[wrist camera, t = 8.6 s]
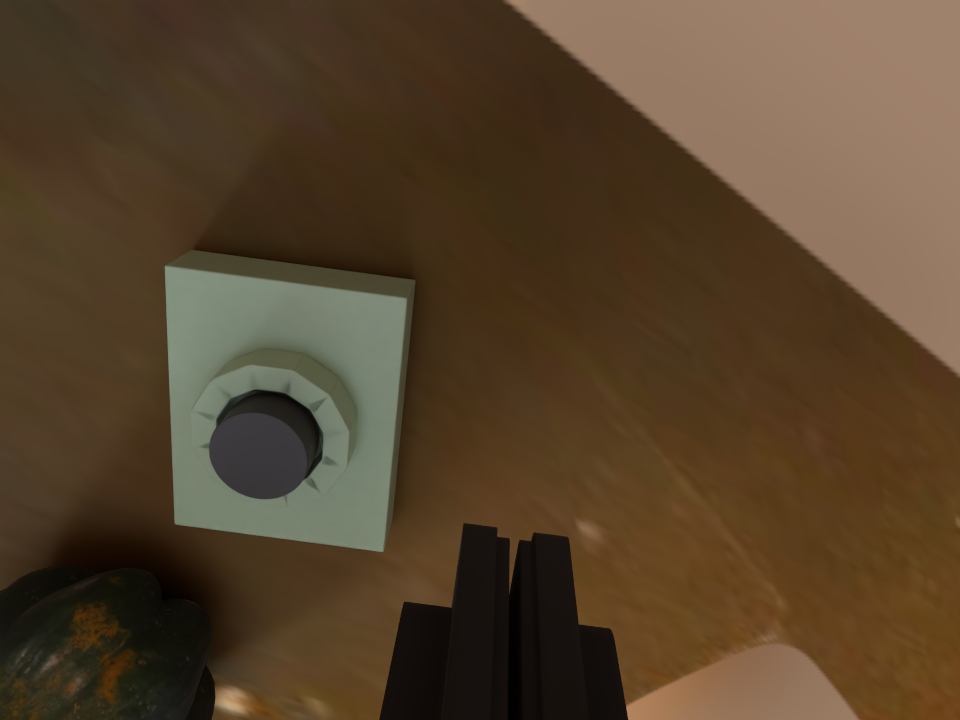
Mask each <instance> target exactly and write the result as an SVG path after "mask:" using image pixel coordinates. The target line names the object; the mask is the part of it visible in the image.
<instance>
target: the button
mask: <svg viewBox="0 0 960 720" xmlns="http://www.w3.org/2000/svg"><path fill="white" fill-rule="evenodd" d="M318 446H319V434H318V430H317V427H316V424H315V422H314V420H313V418H312V417H311V415H310V414H309V413H308V411H307V410H306V409H305V408H304V407H303V406H301V405H300V404H299V403H297V402H296V401H294V400H292V399H291V398H288V397H286V396H283V395H280V394H275V393H257V394H253V395H250V396H247V397H245V398H243V399H242V400H240V401H239V402H237V403H236V404H235V405H234V406H233V408H232V409H231V410H230V411H229V412H228V414H227V415H226V416H225V417H224V419H223V420H222V421H221V422H220V424H219V425H218V426H217V427H216V428H215V430H214V432H213V434H212V436H211V439H210V443H209V456H210V460H211V464H212V466H213V468H214V470H215V472H216V474H217V475H218V476H219V478H220V479H221V480H222V481H223V482H224V483H225V484H226V485H227V486H228V487H230V488H231V489H233V490H234V491H236V492H238V493H240V494H242V495H244V496H247V497H251V498H256V499H275V498H279V497H282V496H285V495H287V494H289V493H290V492H292V491H294V490H295V489H296V488H297V487H298V486H299V485H300V484H301V482H302V481H303V479H304V478H305V476H306V474H307V472H308V470H309V468H310V466H311V464H312V462H313V460H314V458H315V456H316V453H317V450H318Z"/></svg>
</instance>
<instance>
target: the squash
mask: <svg viewBox="0 0 960 720" xmlns="http://www.w3.org/2000/svg"><path fill="white" fill-rule="evenodd" d="M211 637H212V627H211V623H210V619H209V616H208V615H207V613H206V611H205V609H203V608H202V607H201V606H200V605H199V604H197V603H195V602H193V601H189V600H185V599H178V598H173V599H166V600H164V601H162V591H161V587H160V583H159V582H158V580H157V579H156V577H155V576H154V575H153V574H152V573H150V572H148V571H145V570H140V569H135V568H131V567H130V568H122V569H117V570H111V571H108V572H103V573H98V574H96V573H95V572H94V571H91V570H88V569H85V568H82V567H79V566H70V565H61V566H53V567H49V568H44V569H40V570H37V571H34V572H31V573H29V574H27V575H25V576H23V577H21V578H19V579H18V580H17V581H15V582H14V583H12V584H11V585H10V586H8V587H7V588H6V589H4V590H2V591H0V720H211V719H212V715H213V710H214V704H215V684H214V680H213V677H212V675H211V673H210V671H209V669H208V668H207V666H206V665H205V664H206V661H207V658H208V654H209V650H210V645H211Z"/></svg>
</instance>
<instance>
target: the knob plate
mask: <svg viewBox="0 0 960 720" xmlns="http://www.w3.org/2000/svg"><path fill="white" fill-rule="evenodd" d="M165 283H166V309H167V336H168V362H169V388H170V414H171V441H172V467H173V493H174V519H175V524H176V525H183V526H190V527H198V528H206V529H213V530H221V531H228V532H236V533H243V534H251V535H259V536H266V537H274V538H281V539H289V540H296V541H304V542H311V543H319V544H327V545H334V546H342V547H349V548H357V549H364V550H372V551H380V552H383V551H384V549H385V546H386V542H387V538H388V534H389V531H390V527H391V523H392V519H393V509H394V499H395V489H396V478H397V468H398V458H399V447H400V437H401V427H402V416H403V406H404V396H405V385H406V375H407V365H408V354H409V344H410V334H411V323H412V313H413V303H414V292H415V280H411V279H404V278H396V277H389V276H382V275H374V274H367V273H359V272H352V271H345V270H337V269H330V268H322V267H315V266H308V265H300V264H293V263H285V262H278V261H271V260H263V259H256V258H248V257H241V256H234V255H226V254H219V253H211V252H204V251H197V250H191V251H189V252H187V253H186V254H184V255H182V256H180V257H179V258H177V259H175V260H174V261H172V262H170V263H169V264H167V265H165ZM257 393H275V394H280V395H283V396H286V397H288V398H291V399H292V400H294V401H296V402H297V403H299V404H300V405H301V406H303V407H304V408H305V409H306V410H307V411H308V413H309V414H310V415H311V417H312V418H313V420H314V422H315V424H316V427H317V430H318V434H319V446H318V450H317V453H316V456H315V458H314V460H313V462H312V464H311V466H310V468H309V470H308V472H307V474H306V476H305V478H304V479H303V481H302V482H301V484H300V485H299V486H298V487H297V488H296V489H295V490H294V491H292V492H290V493H289V494H287V495H285V496H282V497H279V498H275V499H256V498H251V497H247V496H244V495H242V494H240V493H238V492H236V491H234V490H233V489H231V488H230V487H228V486H227V485H226V484H225V483H224V482H223V481H222V480H221V479H220V478H219V476H218V475H217V474H216V472H215V470H214V468H213V466H212V464H211V460H210V456H209V443H210V439H211V436H212V434H213V432H214V430H215V428H216V427H217V426H218V425H219V424H220V422H221V421H222V420H223V419H224V417H225V416H226V415H227V414H228V412H229V411H230V410H231V409H232V408H233V406H234V405H235V404H236V403H237V402H239V401H240V400H242V399H243V398H245V397H247V396H250V395H253V394H257Z"/></svg>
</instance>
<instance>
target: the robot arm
mask: <svg viewBox="0 0 960 720" xmlns="http://www.w3.org/2000/svg"><path fill="white" fill-rule="evenodd" d="M509 549H510V540H509V538H502V537H497V527H489V526H482V525H474V524H466V523H464V524H463V531H462V538H461V545H460V552H459V559H458V566H457V573H456V580H455V587H454V594H453V601H452V608H449V607H441V606H434V605H426V604H419V603H411V602H404V604H403V608H402V612H401V617H400V622H399V627H398V632H397V637H396V641H395V646H394V651H393V656H392V661H391V666H390V671H389V676H388V680H387V685H386V690H385V695H384V700H383V705H382V710H381V715H380V720H628V716H627V710H626V704H625V699H624V693H623V687H622V681H621V675H620V670H619V664H618V658H617V652H616V646H615V640H614V637H613V633H612V631H611V630H610V629H608V628H601V627H593V626H586V625H579V624H578V615H577V606H576V597H575V588H574V579H573V571H572V562H571V553H570V544H569V538H568V537H564V536H557V535H549V534H542V533H533V536H532V540H531V541H524V540H520V541H519V544H518V549H517V554H516V560H515V566H514V571H513V577H512V583H511V588H510V594H509Z"/></svg>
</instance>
